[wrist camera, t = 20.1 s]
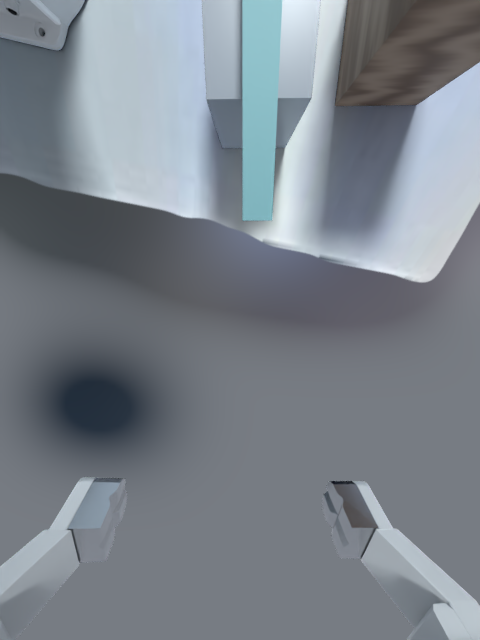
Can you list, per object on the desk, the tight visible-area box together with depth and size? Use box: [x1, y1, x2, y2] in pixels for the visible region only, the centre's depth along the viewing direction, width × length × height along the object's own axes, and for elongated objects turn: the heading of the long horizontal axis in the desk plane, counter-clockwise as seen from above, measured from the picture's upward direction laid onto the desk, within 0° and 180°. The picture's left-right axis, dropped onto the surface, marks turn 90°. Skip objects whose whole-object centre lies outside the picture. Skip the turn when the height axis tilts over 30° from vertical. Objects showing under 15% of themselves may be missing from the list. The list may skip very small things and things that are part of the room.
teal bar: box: [242, 0, 282, 221], centre depth 19 cm, size 3×26×3 cm, turn 0°
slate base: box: [202, 0, 321, 148], centre depth 27 cm, size 10×12×16 cm
